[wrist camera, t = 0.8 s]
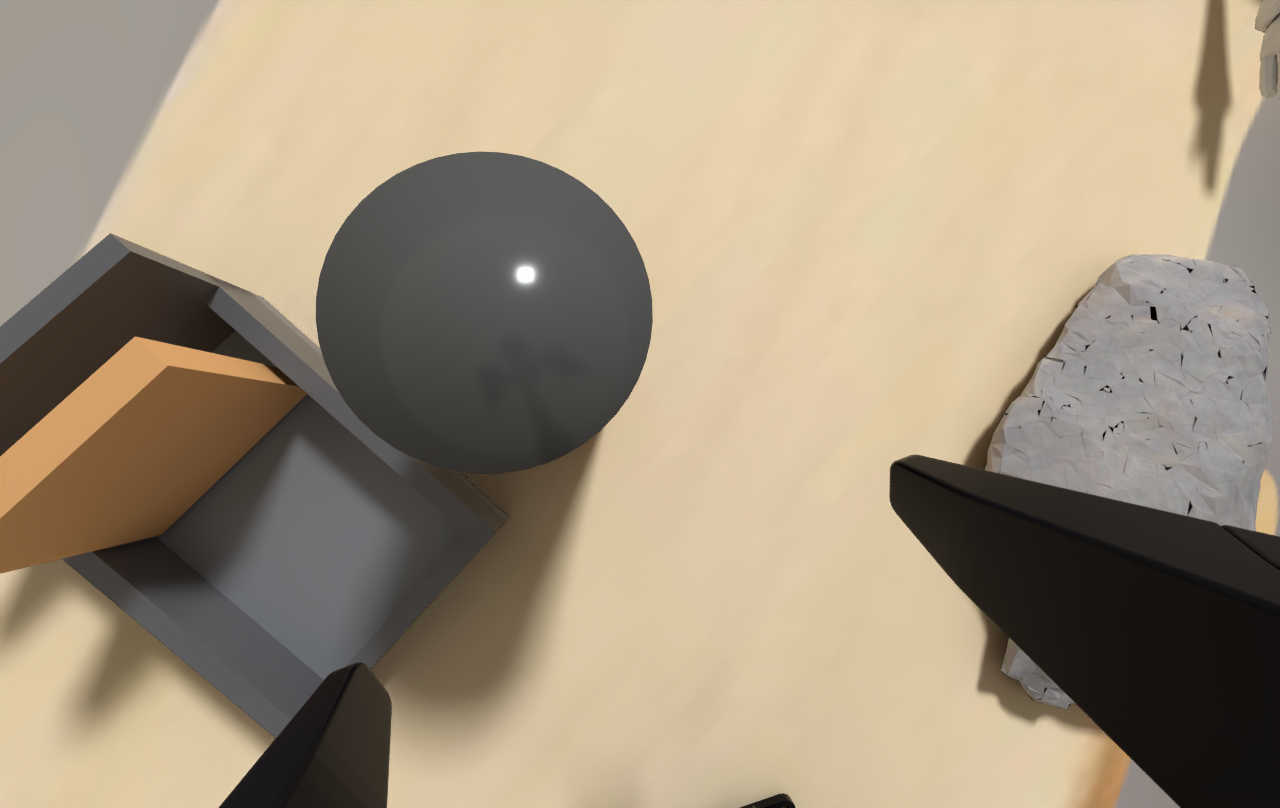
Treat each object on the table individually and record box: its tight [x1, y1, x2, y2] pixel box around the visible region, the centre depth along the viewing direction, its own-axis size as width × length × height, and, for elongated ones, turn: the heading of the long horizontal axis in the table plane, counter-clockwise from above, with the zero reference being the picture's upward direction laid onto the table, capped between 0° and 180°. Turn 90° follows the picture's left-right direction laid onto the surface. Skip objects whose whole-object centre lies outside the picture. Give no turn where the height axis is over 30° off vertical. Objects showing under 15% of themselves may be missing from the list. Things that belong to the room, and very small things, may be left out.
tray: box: [0, 233, 509, 738], centre depth 17 cm, size 15×11×7 cm
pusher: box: [0, 337, 307, 573], centre depth 16 cm, size 1×8×7 cm, turn 138°
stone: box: [985, 254, 1272, 709], centre depth 23 cm, size 16×5×25 cm
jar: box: [316, 152, 653, 474], centre depth 16 cm, size 7×7×12 cm
